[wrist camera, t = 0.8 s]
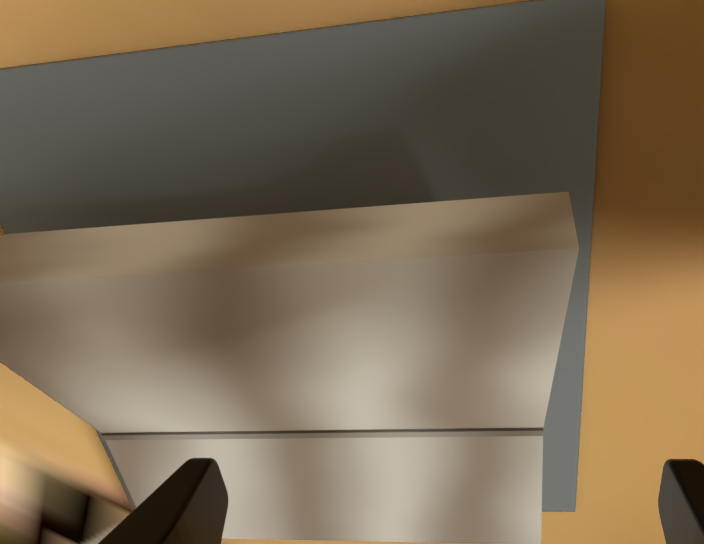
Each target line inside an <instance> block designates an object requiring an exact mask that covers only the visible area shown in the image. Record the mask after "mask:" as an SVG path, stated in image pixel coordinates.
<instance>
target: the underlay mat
mask: <svg viewBox="0 0 704 544" xmlns="http://www.w3.org/2000/svg"><path fill="white" fill-rule="evenodd" d="M605 4H606V0H532V1H524V2H516V3H509V4H501V5H493V6H485V7H477V8H470V9H462V10H454V11H446V12H438V13H431V14H423V15H415V16H407V17H399V18H392V19H384V20H376V21H368V22H360V23H353V24H345V25H337V26H329V27H321V28H314V29H306V30H298V31H290V32H282V33H275V34H267V35H259V36H251V37H244V38H236V39H228V40H220V41H212V42H205V43H197V44H189V45H181V46H173V47H166V48H158V49H150V50H142V51H134V52H127V53H119V54H111V55H103V56H95V57H88V58H80V59H72V60H64V61H56V62H49V63H41V64H33V65H25V66H17V67H10V68H2V69H0V224H1V226H2V229H3V231H4V233H5V234H15V233H28V232H41V231H54V230H68V229H81V228H94V227H107V226H121V225H134V224H147V223H160V222H174V221H187V220H200V219H213V218H227V217H240V216H253V215H266V214H280V213H293V212H306V211H319V210H333V209H346V208H359V207H372V206H386V205H399V204H412V203H425V202H438V201H452V200H465V199H478V198H491V197H505V196H518V195H531V194H544V193H558V192H569V196H570V202H571V207H572V212H573V218H574V223H575V228H576V234H577V239H578V244H579V252H578V257H577V262H576V267H575V272H574V277H573V282H572V287H571V292H570V297H569V302H568V307H567V312H566V317H565V322H564V327H563V332H562V337H561V342H560V347H559V352H558V357H557V362H556V367H555V372H554V377H553V382H552V387H551V392H550V397H549V402H548V407H547V412H546V417H545V422H544V427H543V430H544V436H543V469H542V511H543V512H575V507H576V491H577V474H578V457H579V440H580V423H581V407H582V390H583V373H584V356H585V340H586V323H587V306H588V289H589V272H590V256H591V239H592V222H593V205H594V188H595V172H596V155H597V138H598V121H599V105H600V88H601V71H602V54H603V37H604V21H605ZM97 433H98V435H99V437H100V439H101V441H102V443H103V445H104V448H105V450H106V452H107V454H108V456H109V458H110V460H111V463H112V465H113V467H114V469H115V471H116V473H117V475H118V478H119V480H120V482H121V484H122V486H123V488H124V490H125V493H126V495H127V497H128V499H129V501H130V503H131V506H132V507H136V506H135V503H134V501H133V499H132V497H131V495H130V493H129V490H128V488H127V486H126V484H125V482H124V480H123V477H122V475H121V473H120V471H119V469H118V467H117V464H116V462H115V460H114V458H113V456H112V454H111V451H110V449H109V447H108V445H107V443H106V441H105V440H103V439H102V437H101V435H102V434H103V433H101V432H99V431H98V430H97Z"/></svg>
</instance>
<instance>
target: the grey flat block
mask: <svg viewBox="0 0 704 544" xmlns="http://www.w3.org/2000/svg"><path fill="white" fill-rule="evenodd" d="M543 436H544V430H543V427H539V428H457V429H374V430H291V431H209V432H126V433H103V434H102V435H101V437H102V439H103V440H105V441H106V443H107V445H108V447H109V449H110V451H111V454H112V456H113V458H114V460H115V462H116V464H117V467H118V469H119V471H120V473H121V475H122V477H123V480H124V482H125V484H126V486H127V488H128V490H129V493H130V495H131V497H132V499H133V501H134V503H135V506H136V508H137V507H138V506H139V505H140V504H141V503H142V502H143V501H144V500H145V499H146V498H147V497H148V496H149V495H150V494H152V493H153V492H154V491H155V490H156V489H157V488H158V487H159V486H160V485H161V484H162V483H163V482H164V481H165V480H166V479H168V478H169V477H170V476H171V475H172V474H173V473H174V472H175V471H176V470H177V469H178V468H179V467H180V466H181V465H182V464H184V463H185V462H186V461H187V460H189V459H191V458H213V459H215V460H216V461H217V463H218V466H219V469H220V471H221V474H222V477H223V480H224V483H225V486H226V489H227V492H228V509H227V514H226V520H225V525H224V530H223V535H222V538H231V539H282V540H333V541H383V542H434V543H485V544H541V520H542V469H543Z"/></svg>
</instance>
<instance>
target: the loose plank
mask: <svg viewBox="0 0 704 544" xmlns="http://www.w3.org/2000/svg"><path fill="white" fill-rule="evenodd" d="M578 252H579V244H578V239H577V234H576V228H575V223H574V218H573V212H572V207H571V202H570V196H569V192H558V193H544V194H531V195H518V196H505V197H491V198H478V199H465V200H452V201H438V202H425V203H412V204H399V205H386V206H372V207H359V208H346V209H333V210H319V211H306V212H293V213H280V214H266V215H253V216H240V217H227V218H213V219H200V220H187V221H174V222H160V223H147V224H134V225H121V226H107V227H94V228H81V229H68V230H54V231H41V232H28V233H15V234H1V235H0V362H1V363H2V364H4V365H5V366H7V367H8V368H9V369H11V370H12V371H14V372H15V373H17V374H18V375H19V376H21V377H22V378H24V379H25V380H27V381H28V382H29V383H31V384H32V385H34V386H35V387H36V388H38V389H39V390H41V391H42V392H44V393H45V394H46V395H48V396H49V397H51V398H52V399H54V400H55V401H56V402H58V403H59V404H61V405H62V406H64V407H65V408H66V409H68V410H69V411H71V412H72V413H74V414H75V415H76V416H78V417H79V418H81V419H82V420H83V421H85V422H86V423H88V424H89V425H91V426H92V427H93V428H95V429H96V430H98V431H99V432H101V433H126V432H209V431H291V430H374V429H457V428H539V427H544V422H545V417H546V412H547V407H548V402H549V397H550V392H551V387H552V382H553V377H554V372H555V367H556V362H557V357H558V352H559V347H560V342H561V337H562V332H563V327H564V322H565V317H566V312H567V307H568V302H569V297H570V292H571V287H572V282H573V277H574V272H575V267H576V262H577V257H578Z"/></svg>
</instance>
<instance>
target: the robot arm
mask: <svg viewBox="0 0 704 544" xmlns="http://www.w3.org/2000/svg"><path fill="white" fill-rule="evenodd" d="M658 505H659V514H660V518H661V523H662V527H663V531H664V536H665V540H666V544H704V464H702V463H701V462H699V461H697V460H695V459H669V460H667V461H666V462H665V464H664V467H663V473H662V479H661V485H660V492H659V498H658ZM227 509H228V492H227V489H226V486H225V483H224V480H223V477H222V474H221V471H220V469H219V466H218V463H217V461H216V460H215V459H213V458H191V459H189V460H187V461H186V462H185V463H184V464H182V465H181V466H180V467H179V468H178V469H177V470H176V471H175V472H174V473H173V474H172V475H171V476H170V477H169V478H168V479H166V480H165V481H164V482H163V483H162V484H161V485H160V486H159V487H158V488H157V489H156V490H155V491H154V492H153V493H152V494H150V495H149V496H148V497H147V498H146V499H145V500H144V501H143V502H142V503H141V504H140V505H139V506H138V507H137V508H136V509H134V510H133V511H132V512H131V513H130V514H129V515H128V516H127V517H126V518H125V519H124V520H123V521H122V522H121V523H120V524H118V525H117V526H116V527H115V528H114V529H113V530H112V531H111V532H110V533H109V534H108V535H107V536H106V537H105V538H104V539H103V540H101V541H100V542H99V543H98V544H221V540H222V535H223V530H224V525H225V520H226V514H227Z"/></svg>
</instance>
